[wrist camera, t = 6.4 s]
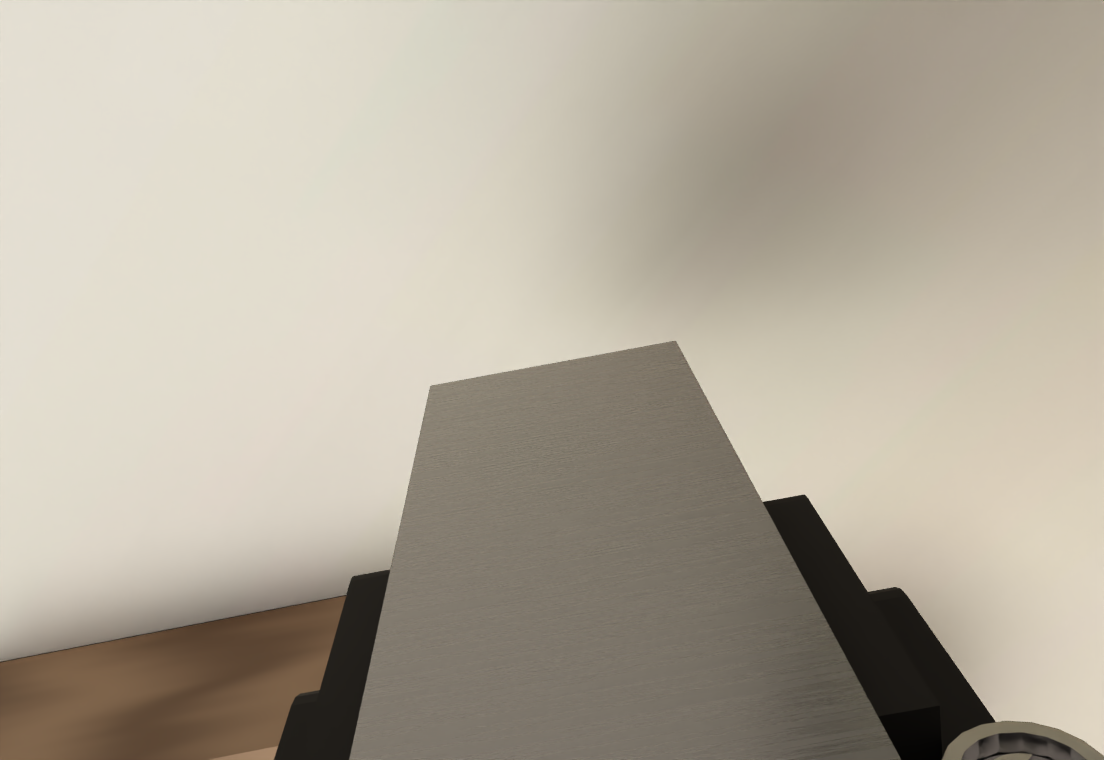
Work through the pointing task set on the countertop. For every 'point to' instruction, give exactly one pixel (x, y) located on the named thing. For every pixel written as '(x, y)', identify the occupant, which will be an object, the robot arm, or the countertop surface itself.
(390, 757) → the square bit
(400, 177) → the countertop surface
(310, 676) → the bore block
